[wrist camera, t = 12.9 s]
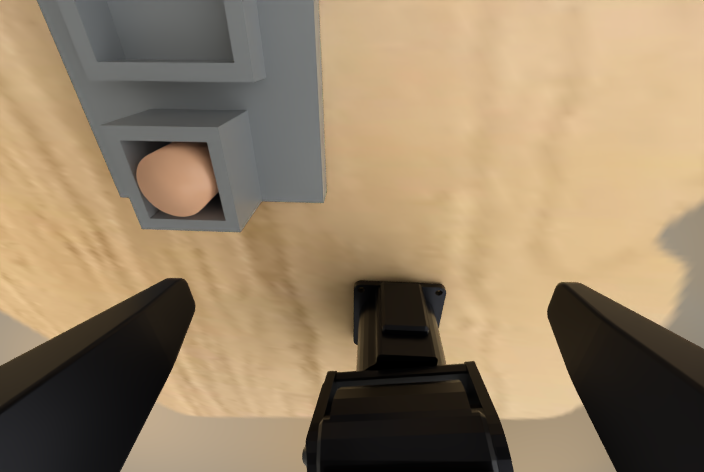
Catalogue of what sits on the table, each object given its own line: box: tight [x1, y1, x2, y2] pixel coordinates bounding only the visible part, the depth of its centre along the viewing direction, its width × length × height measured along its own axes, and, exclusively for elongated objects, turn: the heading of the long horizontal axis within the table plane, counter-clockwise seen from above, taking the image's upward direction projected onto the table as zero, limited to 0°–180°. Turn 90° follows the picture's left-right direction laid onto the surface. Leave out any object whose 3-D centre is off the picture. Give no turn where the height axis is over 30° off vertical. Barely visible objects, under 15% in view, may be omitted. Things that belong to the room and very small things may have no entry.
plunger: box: [136, 142, 219, 217], centre depth 15 cm, size 3×3×3 cm
